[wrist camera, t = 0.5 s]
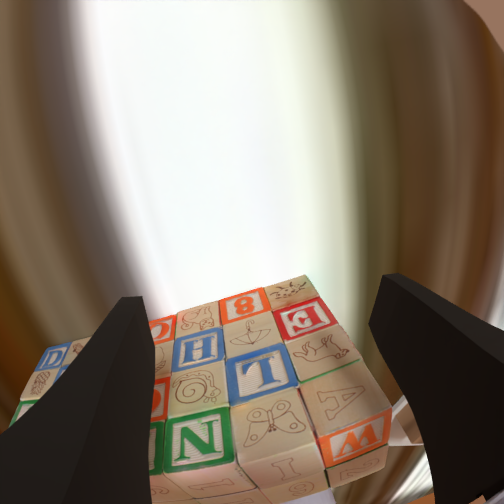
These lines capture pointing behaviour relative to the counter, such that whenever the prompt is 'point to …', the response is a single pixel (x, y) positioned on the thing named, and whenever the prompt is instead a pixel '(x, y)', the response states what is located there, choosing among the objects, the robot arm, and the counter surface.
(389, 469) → the counter surface
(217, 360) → the stack of blocks
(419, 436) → the walnut block
